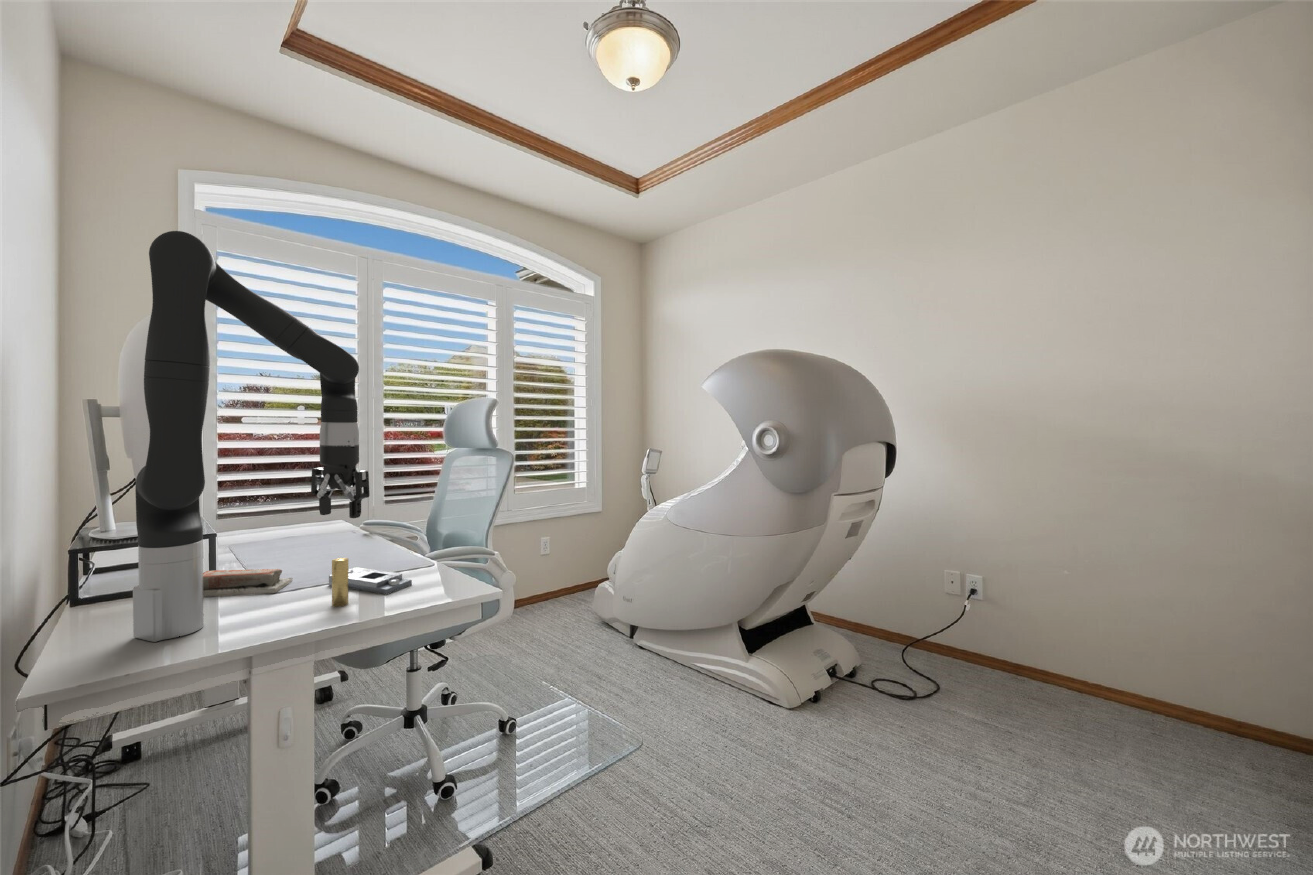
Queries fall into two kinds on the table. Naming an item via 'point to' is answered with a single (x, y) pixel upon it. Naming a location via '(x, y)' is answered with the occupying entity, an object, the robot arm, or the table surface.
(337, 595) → the brass pin
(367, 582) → the grey plate with window
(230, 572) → the packaged product
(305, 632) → the table surface
